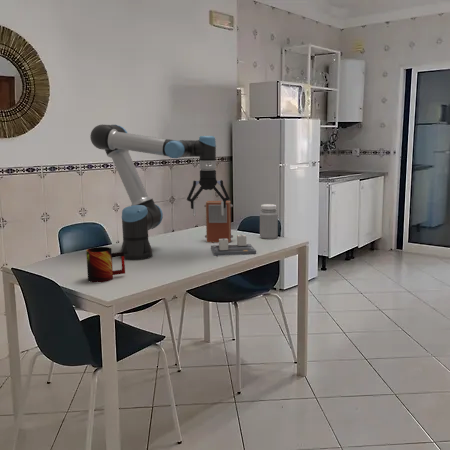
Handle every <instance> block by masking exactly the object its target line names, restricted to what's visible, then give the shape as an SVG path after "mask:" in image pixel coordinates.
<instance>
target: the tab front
mask: <svg viewBox="0 0 450 450" xmlns="http://www.w3.org/2000/svg"><path fill="white" fill-rule="evenodd" d="M218 245H219V250H228V245H229V242H228V239H224V238H222V239H219V242H218Z"/></svg>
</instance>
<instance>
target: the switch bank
mask: <svg viewBox="0 0 450 450" xmlns="http://www.w3.org/2000/svg"><path fill="white" fill-rule="evenodd" d="M210 250H211V252H212V254H213V256H214V257H216V256H219V257H220V256H221V257H222V256H239V255H240V256H242V255H243V256H244V255H257V250H256V249H255V247H254V246H253V245H252V244H251V243H246V246H238V245H237V244H228V250H219V244H217V245H215V244H214V245H210Z"/></svg>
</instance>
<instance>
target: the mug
mask: <svg viewBox="0 0 450 450" xmlns="http://www.w3.org/2000/svg"><path fill="white" fill-rule="evenodd" d="M112 250H113V249H112V248H111V247H108V246H97V247H91V248H90V247H89V248H87V249H86V250H85V252H86V253H85V254H86V266H87V268H86V269H87V281H88V282H89V281H90V282H89V283H94V282H101V283H106V282H110V281H112V280H114V276H116V275H117V276H118V275H125V274H126V267H125V266H126V265H125V259H124V252H119V251H118V252H113V251H112ZM120 257H121V258H120ZM113 258H120V259H121V269H117V270H116V269H115V270H113Z"/></svg>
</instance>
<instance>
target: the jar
mask: <svg viewBox="0 0 450 450" xmlns="http://www.w3.org/2000/svg"><path fill="white" fill-rule="evenodd" d="M278 215H279V213H278V212H277V205H276V204H272V203H263V204H260V213H259V236H260V238H261V239H262V238H264V239H263V240H274V239H277V238H278V235H279V232H278V229H279V226H278V225H279V224H278V223H279V221H278V220H279V219H278Z"/></svg>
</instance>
